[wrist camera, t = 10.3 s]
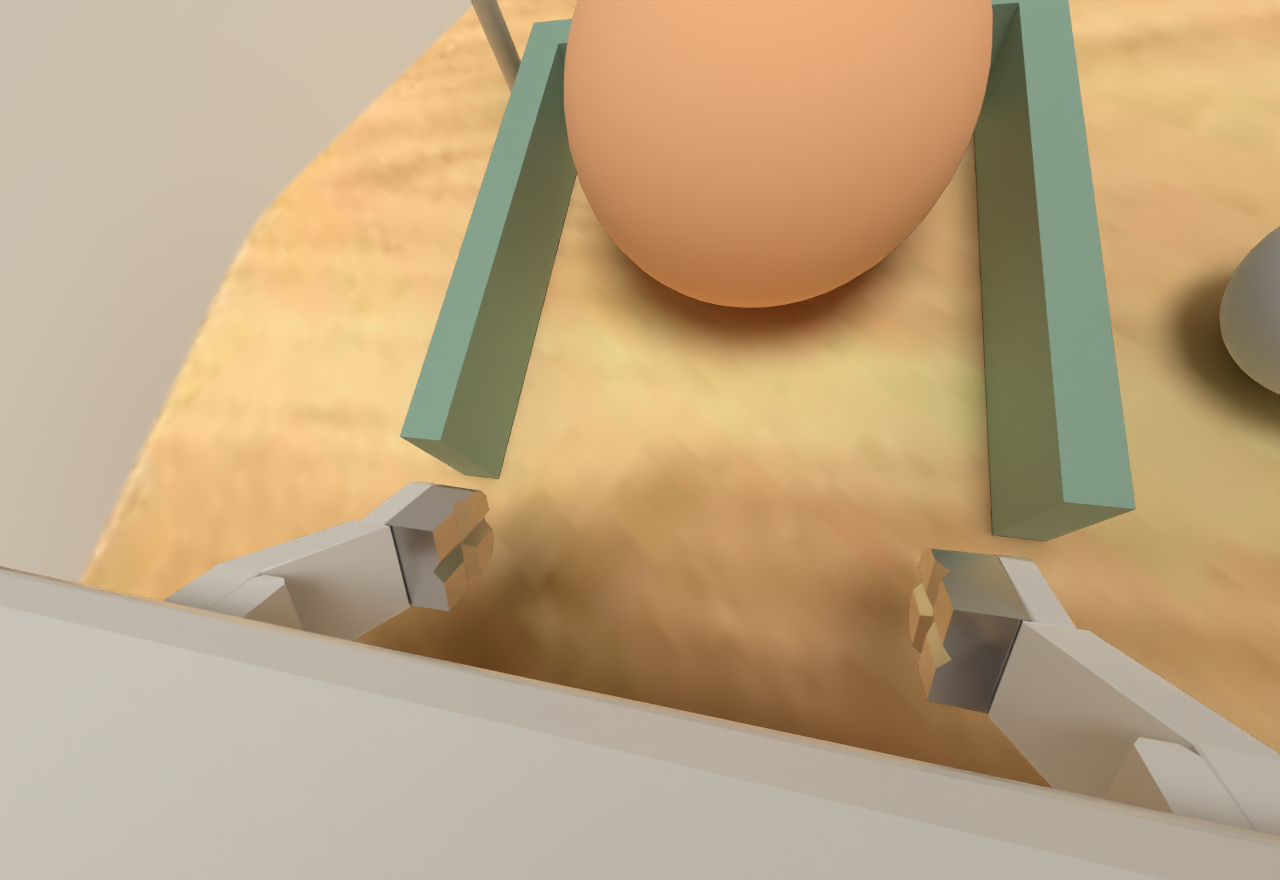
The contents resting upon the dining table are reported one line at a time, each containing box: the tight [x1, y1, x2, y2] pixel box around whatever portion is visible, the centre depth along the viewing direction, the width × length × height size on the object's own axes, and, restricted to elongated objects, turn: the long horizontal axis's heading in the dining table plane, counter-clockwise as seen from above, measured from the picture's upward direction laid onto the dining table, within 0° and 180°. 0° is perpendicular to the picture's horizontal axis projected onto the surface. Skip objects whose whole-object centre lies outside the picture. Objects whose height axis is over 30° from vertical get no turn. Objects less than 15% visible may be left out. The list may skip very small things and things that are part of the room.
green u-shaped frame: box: [400, 0, 1135, 541], centre depth 12 cm, size 16×18×14 cm
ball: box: [564, 0, 993, 308], centre depth 14 cm, size 10×10×10 cm
